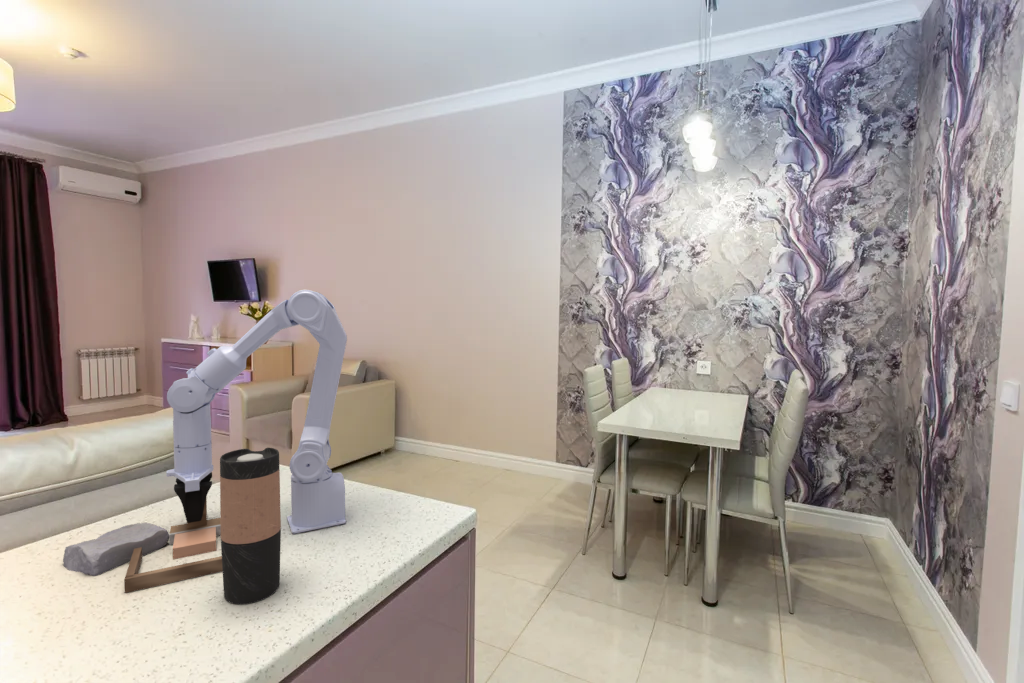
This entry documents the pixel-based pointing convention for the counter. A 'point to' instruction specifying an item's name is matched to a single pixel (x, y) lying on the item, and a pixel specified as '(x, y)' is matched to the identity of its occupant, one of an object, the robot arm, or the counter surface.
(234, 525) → the travel mug
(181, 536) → the terracotta tile
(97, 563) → the stone block
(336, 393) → the robot arm
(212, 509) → the counter surface
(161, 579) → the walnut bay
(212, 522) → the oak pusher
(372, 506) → the counter surface
